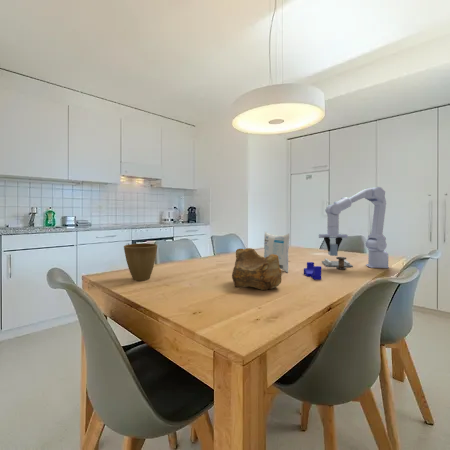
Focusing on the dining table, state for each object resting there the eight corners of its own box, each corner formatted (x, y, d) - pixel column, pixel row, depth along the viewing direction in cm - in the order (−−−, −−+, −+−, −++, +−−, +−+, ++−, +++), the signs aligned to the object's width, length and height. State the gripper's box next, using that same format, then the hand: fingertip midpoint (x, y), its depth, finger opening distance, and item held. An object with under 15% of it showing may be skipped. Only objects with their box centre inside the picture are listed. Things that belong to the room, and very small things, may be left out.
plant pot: (118, 279, 130) (117, 245, 129) (146, 274, 141) (146, 242, 140) (135, 285, 120) (134, 248, 119) (164, 279, 131) (163, 244, 130)
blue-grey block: (334, 254, 155) (335, 243, 154) (337, 255, 149) (337, 244, 149) (328, 254, 155) (328, 243, 155) (330, 255, 149) (330, 244, 149)
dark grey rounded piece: (344, 267, 154) (345, 257, 154) (347, 269, 149) (347, 258, 149) (335, 267, 155) (335, 256, 154) (337, 269, 150) (337, 258, 149)
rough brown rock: (217, 285, 121) (215, 252, 119) (245, 276, 131) (244, 245, 130) (257, 300, 103) (255, 260, 101) (285, 288, 114) (284, 252, 112)
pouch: (281, 273, 140) (281, 234, 139) (259, 267, 157) (259, 231, 156) (293, 272, 144) (293, 233, 143) (271, 265, 161) (271, 231, 160)
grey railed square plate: (346, 262, 168) (346, 258, 168) (352, 267, 155) (352, 263, 154) (321, 262, 171) (321, 258, 170) (326, 266, 157) (326, 262, 157)
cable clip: (303, 274, 140) (303, 262, 139) (312, 274, 140) (312, 262, 139) (311, 279, 128) (311, 266, 127) (321, 279, 128) (321, 266, 127)
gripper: (320, 226, 149) (320, 252, 149) (349, 226, 146) (348, 252, 147) (318, 226, 156) (317, 250, 156) (345, 226, 153) (345, 250, 154)
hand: (332, 251), depth 152 cm, fingers closed on blue-grey block, 3 cm apart
